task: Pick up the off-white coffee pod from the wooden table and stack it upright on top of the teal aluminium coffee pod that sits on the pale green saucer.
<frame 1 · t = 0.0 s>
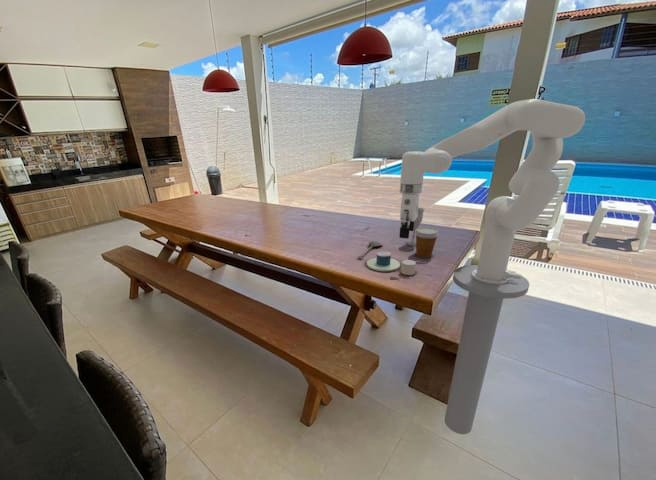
hand: (406, 234, 116), 17 cm above the table, tool pointing down, fingers open, 9 cm apart
chalice: (412, 245, 153), on the table
saucer: (383, 264, 132), on the table
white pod: (407, 272, 124), on the table
soupspoon: (369, 251, 147), on the table
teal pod: (383, 263, 132), point 1 cm above the table, touching saucer
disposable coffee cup: (423, 255, 140), on the table
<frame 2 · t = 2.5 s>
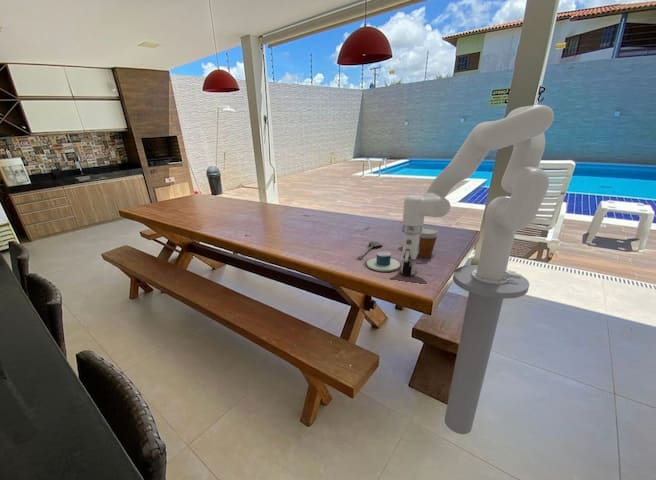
hand: (407, 271, 124), 0 cm above the table, tool pointing down, fingers closed on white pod, 5 cm apart
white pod: (407, 272, 124), on the table, touching gripper
everything else where it was.
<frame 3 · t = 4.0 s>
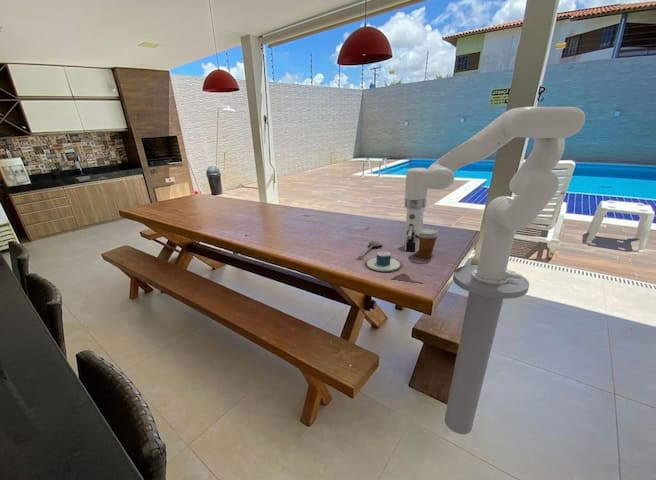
hand: (411, 248, 120), 10 cm above the table, tool pointing down, fingers closed on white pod, 5 cm apart
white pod: (411, 250, 120), point 10 cm above the table, touching gripper
everything else where it was.
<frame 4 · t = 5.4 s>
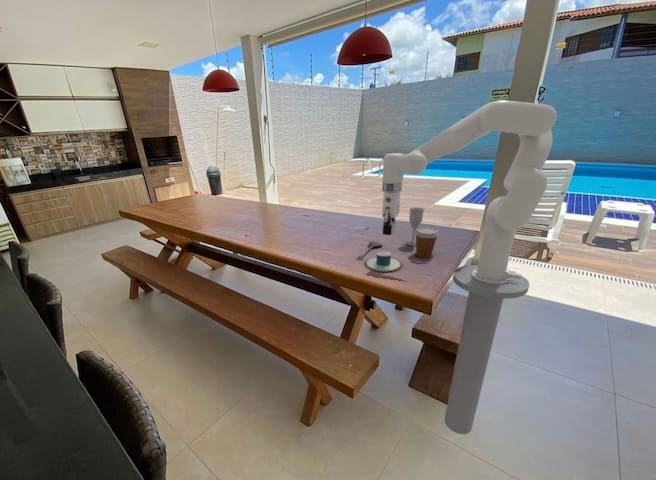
hand: (388, 232, 125), 15 cm above the table, tool pointing down, fingers closed on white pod, 5 cm apart
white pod: (388, 233, 125), point 15 cm above the table, touching gripper
everything else where it was.
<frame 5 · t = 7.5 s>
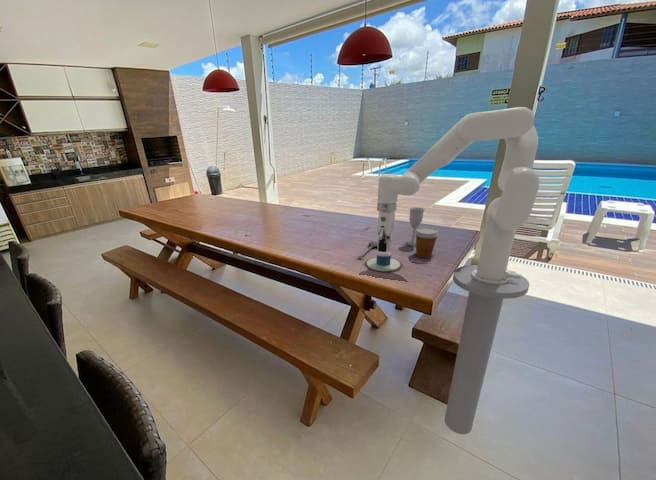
hand: (383, 248, 130), 7 cm above the table, tool pointing down, fingers closed on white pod, 5 cm apart
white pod: (383, 249, 130), point 7 cm above the table, touching gripper
everything else where it was.
when the fingers open (6 cm above the table, at t = 8.5 s): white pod stays where it is, resting on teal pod.
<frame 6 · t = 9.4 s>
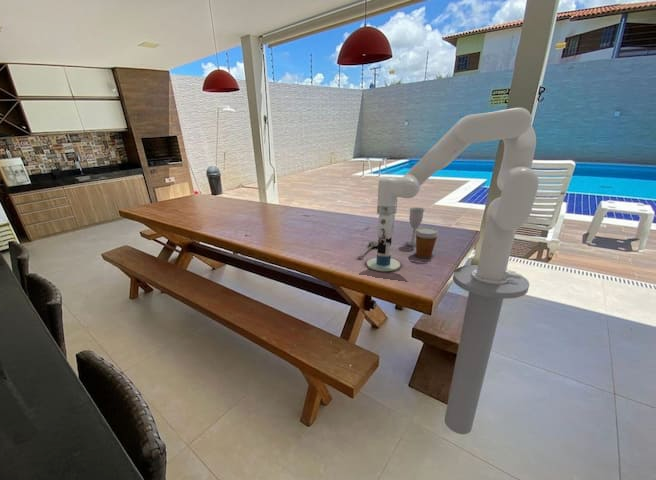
hand: (384, 249, 130), 7 cm above the table, tool pointing down, fingers open, 9 cm apart
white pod: (383, 253, 130), point 5 cm above the table, touching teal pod
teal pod: (383, 263, 132), point 1 cm above the table, touching saucer, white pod
everything else where it was.
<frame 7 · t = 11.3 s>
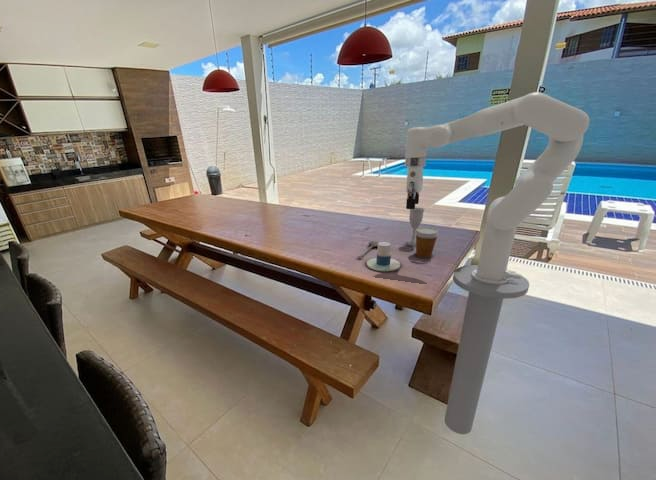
hand: (412, 206, 125), 24 cm above the table, tool pointing down, fingers open, 9 cm apart
nothing on the table moved.
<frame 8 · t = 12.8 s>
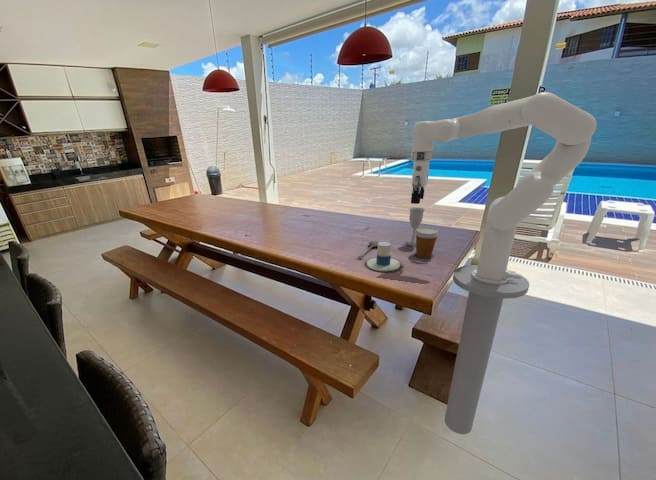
hand: (417, 201, 125), 26 cm above the table, tool pointing down, fingers open, 9 cm apart
nothing on the table moved.
at the end: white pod 0.1 cm off-centre on the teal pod, point 4.4 cm above the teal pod's base; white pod tilted 0°; the gripper is holding nothing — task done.
